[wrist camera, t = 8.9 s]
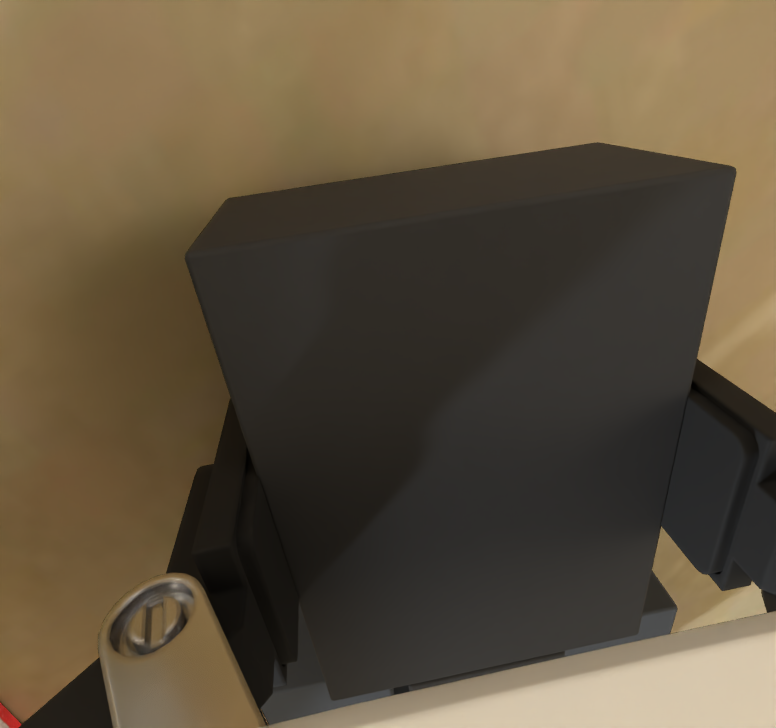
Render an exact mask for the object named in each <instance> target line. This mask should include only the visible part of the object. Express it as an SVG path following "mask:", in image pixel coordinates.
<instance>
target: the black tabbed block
mask: <svg viewBox="0 0 776 728" xmlns="http://www.w3.org/2000/svg"><path fill="white" fill-rule="evenodd" d="M735 177H736V169H735V168H734V167H732V166H729V165H723V164H717V163H712V162H706V161H700V160H695V159H689V158H683V157H678V156H672V155H666V154H661V153H655V152H649V151H644V150H638V149H632V148H627V147H621V146H615V145H610V144H604V143H598V142H597V143H591V144H584V145H578V146H571V147H564V148H558V149H551V150H545V151H538V152H531V153H525V154H518V155H512V156H505V157H498V158H492V159H485V160H478V161H472V162H465V163H459V164H452V165H445V166H439V167H432V168H426V169H419V170H412V171H406V172H399V173H393V174H386V175H379V176H373V177H366V178H360V179H353V180H346V181H340V182H333V183H326V184H320V185H313V186H307V187H300V188H293V189H287V190H280V191H274V192H267V193H260V194H254V195H247V196H241V197H234V198H228V199H227V200H225V202H224V203H223V204H222V206H221V207H220V208H219V210H218V211H217V212H216V214H215V215H214V216H213V218H212V219H211V220H210V222H209V223H208V224H207V226H206V227H205V228H204V229H203V231H202V232H201V233H200V235H199V236H198V237H197V239H196V240H195V241H194V243H193V244H192V245H191V247H190V248H189V249H188V251H187V252H186V253H185V261H186V264H187V267H188V270H189V273H190V276H191V279H192V282H193V285H194V288H195V291H196V294H197V297H198V300H199V303H200V306H201V309H202V312H203V315H204V318H205V321H206V324H207V327H208V330H209V333H210V336H211V339H212V342H213V345H214V348H215V351H216V354H217V357H218V360H219V363H220V366H221V369H222V372H223V375H224V378H225V381H226V384H227V387H228V390H229V393H230V396H231V399H232V402H233V405H234V408H235V412H236V415H237V418H238V421H239V424H240V427H241V430H242V433H243V436H244V439H245V442H246V445H247V448H248V451H249V454H250V457H251V460H252V463H253V466H254V469H255V472H256V475H257V476H258V477H259V479H260V482H261V485H262V488H263V491H264V495H265V498H266V501H267V504H268V507H269V510H270V513H271V516H272V519H273V522H274V525H275V528H276V531H277V534H278V537H279V540H280V543H281V546H282V549H283V552H284V555H285V558H286V561H287V564H288V567H289V570H290V573H291V576H292V580H293V583H294V586H295V589H296V592H297V595H298V598H299V604H300V607H301V610H302V613H303V616H304V619H305V622H306V625H307V628H308V632H309V635H310V638H311V641H312V644H313V647H314V650H315V653H316V656H317V659H318V662H319V665H320V668H321V671H322V674H323V677H324V680H325V683H326V686H327V689H328V692H329V695H330V698H331V700H332V701H337V700H342V699H346V698H351V697H355V696H360V695H365V694H369V693H374V692H378V691H383V690H387V689H392V688H397V687H401V686H406V685H408V687H409V692H411V691H415V690H420V689H424V688H428V687H433V686H437V685H442V684H446V683H451V682H455V681H460V680H464V679H468V678H473V677H477V676H482V675H486V674H491V673H495V672H499V671H504V670H508V669H513V668H517V667H522V666H526V665H531V664H535V663H540V662H544V661H549V660H553V659H558V658H562V657H565V651H566V650H571V649H576V648H580V647H585V646H589V645H594V644H599V643H603V642H608V641H612V640H617V639H622V638H626V637H631V636H635V635H637V634H638V632H639V628H640V623H641V618H642V613H643V609H644V604H645V599H646V595H647V590H648V585H649V581H650V576H651V571H652V567H653V562H654V557H655V552H656V548H657V543H658V538H659V534H660V529H661V522H662V517H663V513H664V508H665V503H666V498H667V494H668V489H669V484H670V480H671V475H672V470H673V466H674V461H675V456H676V451H677V447H678V442H679V437H680V433H681V428H682V423H683V419H684V414H685V409H686V404H687V400H688V396H689V393H690V388H691V383H692V379H693V374H694V369H695V365H696V360H697V355H698V351H699V346H700V341H701V337H702V332H703V327H704V322H705V318H706V313H707V308H708V304H709V299H710V294H711V290H712V285H713V280H714V275H715V271H716V266H717V261H718V257H719V252H720V247H721V243H722V238H723V233H724V229H725V224H726V219H727V214H728V210H729V205H730V200H731V196H732V191H733V186H734V182H735Z"/></svg>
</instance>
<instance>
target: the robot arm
mask: <svg viewBox="0 0 776 728" xmlns="http://www.w3.org/2000/svg"><path fill="white" fill-rule="evenodd" d="M661 526H662V527H663V529H664V530H665V531H666V532H667V533H668V535H669V536H670V537H671V538H672V540H673V541H674V542H675V543H676V545H677V546H678V547H679V548H680V549H681V551H682V552H683V553H684V554H685V556H686V557H687V558H688V559H689V560H690V562H691V563H692V564H693V565H694V567H695V568H696V569H697V570H698V571H699V572H701V573H702V574H706V575H707V574H708V575H709V576H710V577H711V578H712V579H713V581H714V582H715V583H716V584H717V585H718V587H719V588H720V589H721V590H722V591H725V590H730V589H735V588H739V587H744V586H749V585H751V582H752V581H753V582H754V583H755V584H756V585H757V586H758V587H759V588H760V589H761V593H762V597H763V600H764V604H765V607H766V610H767V613H764V614H759V615H755V616H750V617H745V618H741V619H736V620H731V621H727V622H722V623H717V624H713V625H708V626H704V627H699V628H695V629H690V630H685V631H681V632H676V633H672V634H667V635H663V636H658V637H653V638H649V639H644V640H640V641H635V642H630V643H626V644H621V645H617V646H612V647H608V648H603V649H599V650H594V651H590V652H585V653H581V654H576V655H571V656H567V657H562V658H558V659H553V660H549V661H544V662H540V663H535V664H531V665H526V666H522V667H517V668H513V669H508V670H504V671H499V672H495V673H491V674H486V675H482V676H477V677H473V678H468V679H464V680H460V681H455V682H451V683H446V684H442V685H437V686H433V687H428V688H424V689H420V690H415V691H411V692H406V693H402V694H397V695H393V696H388V697H384V698H380V699H375V700H371V701H366V702H362V703H358V704H354V705H350V706H345V707H341V708H337V709H333V710H329V711H325V712H321V713H317V714H313V715H309V716H304V717H300V718H296V719H292V720H288V721H284V722H280V723H276V724H272V725H267V723H266V721H265V718H264V716H263V714H262V712H261V710H260V709H261V707H262V706H263V705H264V704H265V703H266V701H267V700H268V699H269V698H270V697H271V695H272V694H273V688H274V687H279V686H283V685H287V664H288V663H292V662H296V661H297V658H298V622H299V598H298V595H297V592H296V589H295V586H294V583H293V580H292V576H291V573H290V570H289V567H288V564H287V561H286V558H285V555H284V552H283V549H282V546H281V543H280V540H279V537H278V534H277V531H276V528H275V525H274V522H273V519H272V516H271V513H270V510H269V507H268V504H267V501H266V498H265V495H264V491H263V488H262V485H261V482H260V479H259V477H258V476H257V475H256V472H255V469H254V466H253V463H252V460H251V457H250V454H249V451H248V448H247V445H246V442H245V439H244V436H243V433H242V430H241V427H240V424H239V421H238V418H237V415H236V412H235V408H234V405H233V402H232V399H230V401H229V405H228V409H227V413H226V417H225V421H224V425H223V429H222V433H221V437H220V441H219V445H218V449H217V453H216V457H215V461H214V464H211V465H206V466H201V467H199V468H198V469H197V471H196V474H195V477H194V480H193V483H192V487H191V490H190V494H189V497H188V500H187V504H186V507H185V511H184V514H183V517H182V521H181V524H180V528H179V531H178V534H177V538H176V541H175V545H174V548H173V551H172V555H171V558H170V562H169V565H168V568H167V572H166V574H163V575H158V576H155V577H153V578H151V579H149V580H146V581H144V582H142V583H140V584H139V585H137V586H136V587H134V588H133V589H132V590H130V591H129V592H127V593H126V594H125V595H124V596H123V597H122V598H121V599H120V600H119V601H118V602H117V603H116V604H115V605H114V606H113V607H112V609H111V610H110V612H109V613H108V615H107V616H106V618H105V619H104V621H103V624H102V626H101V629H100V632H99V634H98V653H99V658H98V659H97V660H96V661H95V662H94V663H92V664H91V665H90V666H89V667H88V668H87V669H85V670H84V671H83V672H82V673H81V674H80V675H78V676H77V677H76V678H75V679H74V680H73V681H72V682H70V683H69V684H68V685H67V686H66V687H65V688H63V689H62V690H61V691H60V692H59V693H58V694H57V695H55V696H54V697H53V698H52V699H51V700H50V701H48V702H47V703H46V704H45V705H44V706H43V707H42V708H40V709H39V710H38V711H37V712H36V713H35V714H33V715H32V716H31V717H30V718H29V719H28V720H26V721H25V722H24V723H23V724H22V725H21V726H20V727H18V728H776V413H775V412H774V411H772V410H771V409H769V408H768V407H766V406H765V405H763V404H762V403H761V402H759V401H758V400H756V399H755V398H753V397H752V396H750V395H749V394H747V393H746V392H745V391H743V390H742V389H740V388H739V387H737V386H736V385H734V384H733V383H731V382H730V381H728V380H727V379H726V378H724V377H723V376H721V375H720V374H718V373H717V372H715V371H714V370H712V369H711V368H710V367H708V366H707V365H705V364H704V363H702V362H701V361H699V360H698V359H697V360H696V365H695V369H694V374H693V379H692V383H691V388H690V393H689V396H688V400H687V404H686V409H685V414H684V419H683V423H682V428H681V433H680V437H679V442H678V447H677V451H676V456H675V461H674V466H673V470H672V475H671V480H670V484H669V489H668V494H667V498H666V503H665V508H664V513H663V517H662V522H661Z"/></svg>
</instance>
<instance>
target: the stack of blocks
mask: <svg viewBox="0 0 776 728" xmlns="http://www.w3.org/2000/svg"><path fill="white" fill-rule="evenodd" d="M21 725H22V724H21V723H20V722H19V721H18V720H17V719H16V718H15V717H14V716H13V715H12V714H11V713H10V712H9V711H8V710H7V709H6V708H5V707H4V706H3V705H2V704H1V703H0V728H18V727H20V726H21Z"/></svg>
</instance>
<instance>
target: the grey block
mask: <svg viewBox="0 0 776 728" xmlns="http://www.w3.org/2000/svg"><path fill="white" fill-rule="evenodd" d="M676 612H677V606H676V604H675V603H674V601H673V600H672V598H671V597H670V595H669V594H668V593H667V591H666V590H665V588H664V587H663V585H662V584H661V583H660V581H659V580H658V578H657V577H656V575H655V574H654V573H653V571H651V576H650V581H649V585H648V590H647V595H646V599H645V604H644V609H643V613H642V618H641V623H640V628H639V632H638V634H637V635H635V636H631V637H626V638H622V639H617V640H612V641H608V642H603V643H599V644H594V645H589V646H585V647H580V648H576V649H571V650H566V651H565V657H567V656H571V655H576V654H581V653H585V652H590V651H594V650H599V649H603V648H608V647H612V646H617V645H621V644H626V643H630V642H635V641H640V640H644V639H649V638H653V637H658V636H663V635H667V634H670V632H671V629H672V626H673V622H674V619H675V615H676ZM406 692H409V687H408V685H406V686H401V687H397V688H392V689H387V690H383V691H378V692H374V693H369V694H365V695H360V696H355V697H351V698H346V699H342V700H337V701H332V700H331V698H330V695H329V692H328V689H327V686H326V683H325V680H324V677H323V674H322V671H321V668H320V665H319V662H318V659H317V656H316V653H315V650H314V647H313V644H312V641H311V638H310V635H309V632H308V628H307V625H306V622H305V619H304V616H303V613H302V610H301V607H300V604H299V622H298V658H297V661H296V662H292V663H288V664H287V685H283V686H279V687H274V688H273V694H272V695H271V697H270V698H269V699H268V700H267V701H266V703H265V704H264V705H263V706H262V707H261V710H262V712H263V714H264V716H265V718H266V720H267V722H268V724H269V725H272V724H276V723H280V722H284V721H288V720H292V719H296V718H300V717H304V716H309V715H313V714H317V713H321V712H325V711H329V710H333V709H337V708H341V707H345V706H350V705H354V704H358V703H362V702H366V701H371V700H375V699H380V698H384V697H388V696H393V695H397V694H402V693H406Z"/></svg>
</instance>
